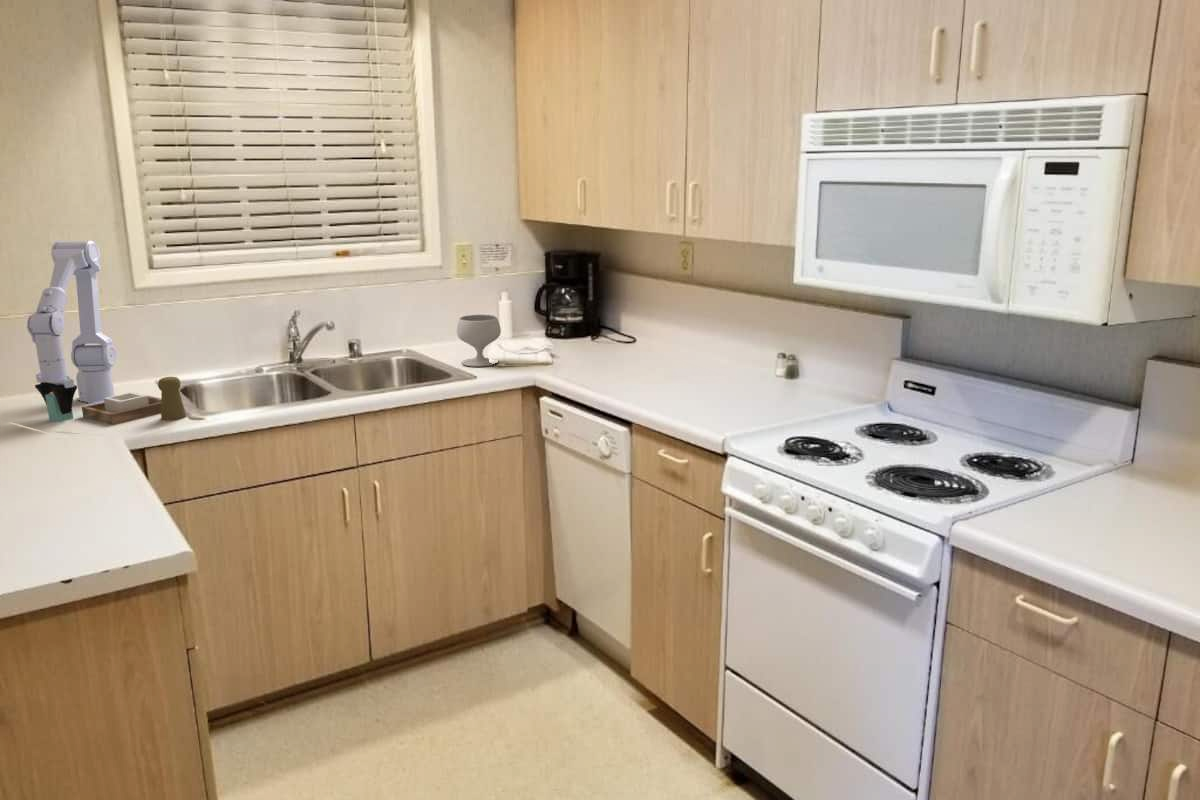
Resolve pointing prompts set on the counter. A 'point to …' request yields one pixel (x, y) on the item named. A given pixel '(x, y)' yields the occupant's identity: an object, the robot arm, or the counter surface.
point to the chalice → (478, 335)
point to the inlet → (125, 402)
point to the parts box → (122, 412)
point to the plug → (56, 409)
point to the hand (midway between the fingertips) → (60, 411)
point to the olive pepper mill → (171, 399)
